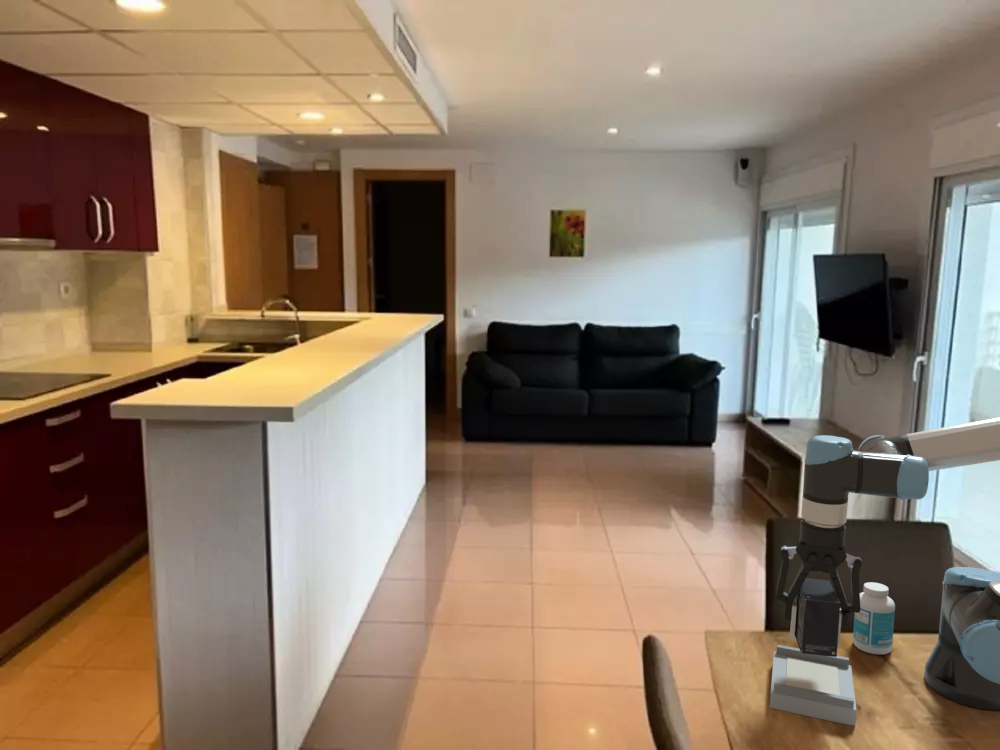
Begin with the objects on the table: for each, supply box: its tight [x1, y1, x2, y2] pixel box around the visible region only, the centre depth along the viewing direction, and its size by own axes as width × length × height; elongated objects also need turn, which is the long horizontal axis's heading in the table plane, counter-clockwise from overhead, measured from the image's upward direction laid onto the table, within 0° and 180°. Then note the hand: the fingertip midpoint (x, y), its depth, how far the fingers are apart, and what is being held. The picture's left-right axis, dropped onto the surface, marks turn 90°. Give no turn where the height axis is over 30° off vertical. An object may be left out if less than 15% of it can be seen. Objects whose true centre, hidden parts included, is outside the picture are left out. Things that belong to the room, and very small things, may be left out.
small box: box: [794, 576, 841, 657], centre depth 136 cm, size 11×6×10 cm, turn 167°
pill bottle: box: [852, 581, 896, 656], centre depth 154 cm, size 8×7×14 cm
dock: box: [769, 644, 857, 727], centre depth 137 cm, size 14×16×4 cm
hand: (814, 640), depth 136 cm, fingers closed on small box, 7 cm apart
